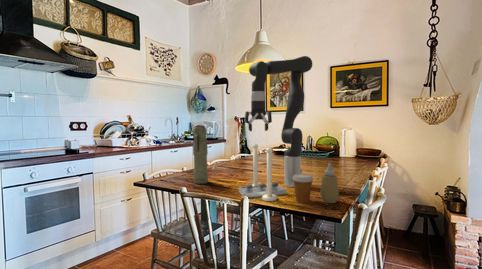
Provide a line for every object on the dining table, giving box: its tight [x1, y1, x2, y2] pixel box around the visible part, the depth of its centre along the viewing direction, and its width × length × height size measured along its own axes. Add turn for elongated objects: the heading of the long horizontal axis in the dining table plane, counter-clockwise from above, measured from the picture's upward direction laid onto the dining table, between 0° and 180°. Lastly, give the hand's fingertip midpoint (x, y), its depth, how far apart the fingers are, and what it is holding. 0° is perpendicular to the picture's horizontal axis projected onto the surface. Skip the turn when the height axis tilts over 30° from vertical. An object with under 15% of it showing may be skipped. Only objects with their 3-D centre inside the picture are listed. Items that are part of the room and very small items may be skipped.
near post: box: [261, 147, 278, 202], centre depth 132 cm, size 7×7×25 cm
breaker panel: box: [238, 184, 287, 199], centre depth 144 cm, size 22×12×3 cm, turn 105°
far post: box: [251, 143, 259, 186], centre depth 153 cm, size 7×7×25 cm
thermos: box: [192, 124, 209, 185], centre depth 168 cm, size 9×12×35 cm
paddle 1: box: [245, 183, 253, 190], centre depth 142 cm, size 3×3×2 cm
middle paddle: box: [258, 182, 267, 188], centre depth 143 cm, size 3×3×2 cm
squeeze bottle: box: [319, 162, 339, 204], centre depth 127 cm, size 8×8×18 cm
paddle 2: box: [272, 181, 279, 188], centre depth 145 cm, size 3×3×2 cm
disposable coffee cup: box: [293, 173, 314, 204], centre depth 129 cm, size 10×10×12 cm
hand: (258, 131), depth 147 cm, fingers open, 8 cm apart
